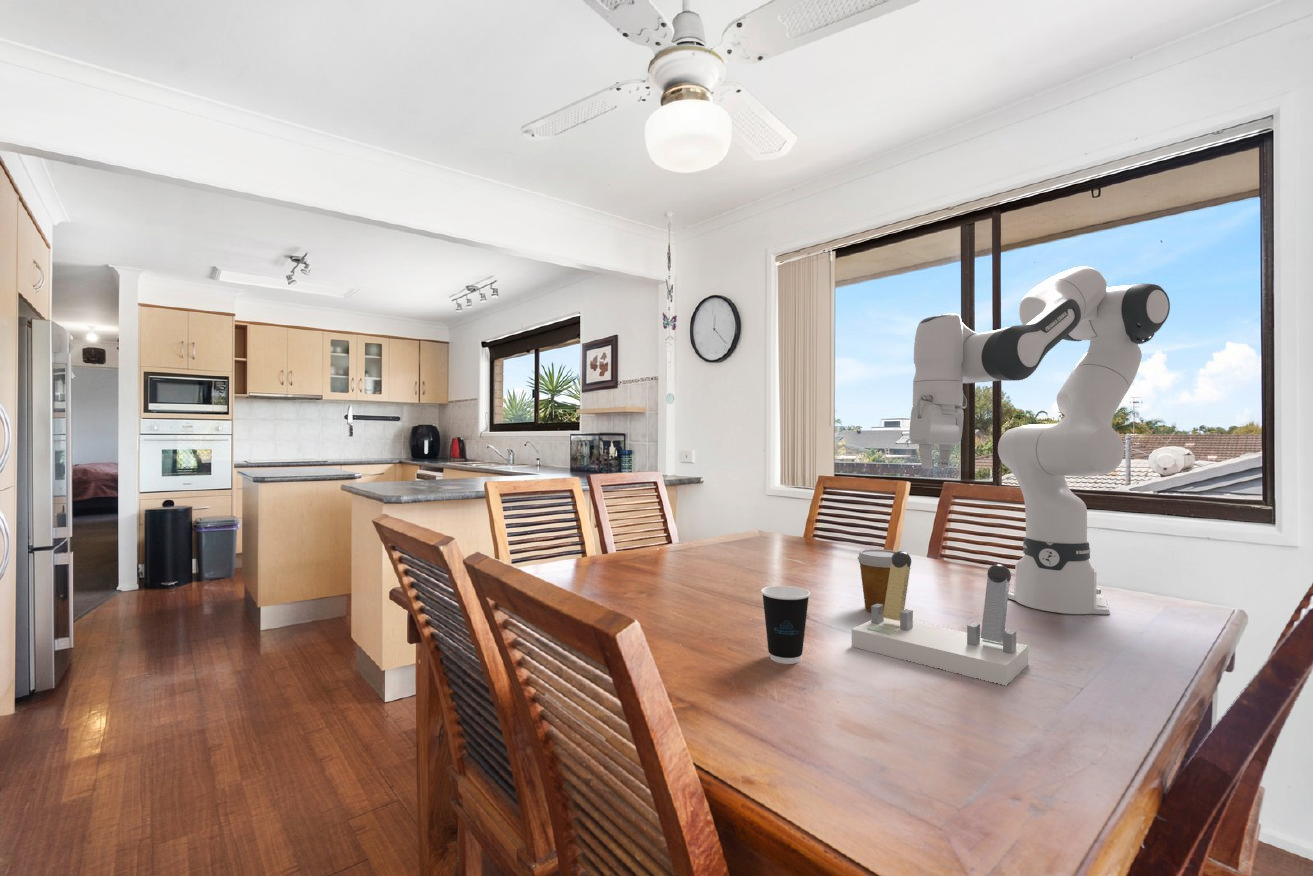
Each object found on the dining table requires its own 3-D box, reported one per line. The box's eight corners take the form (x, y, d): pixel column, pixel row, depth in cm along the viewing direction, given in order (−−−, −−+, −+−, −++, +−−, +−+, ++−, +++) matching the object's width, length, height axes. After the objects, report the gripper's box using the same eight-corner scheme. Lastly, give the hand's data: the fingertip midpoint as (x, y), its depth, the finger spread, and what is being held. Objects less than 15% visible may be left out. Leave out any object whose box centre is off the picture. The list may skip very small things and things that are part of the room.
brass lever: (887, 619, 111) (897, 552, 114) (905, 623, 109) (915, 554, 112) (879, 616, 109) (889, 548, 112) (898, 620, 107) (908, 550, 110)
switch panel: (881, 631, 115) (882, 598, 115) (1028, 664, 99) (1028, 626, 99) (851, 646, 107) (851, 611, 107) (1006, 686, 90) (1006, 644, 90)
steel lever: (983, 639, 100) (991, 565, 103) (1006, 644, 98) (1014, 568, 101) (977, 637, 98) (985, 560, 101) (1000, 642, 96) (1009, 563, 99)
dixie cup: (779, 670, 96) (780, 599, 96) (751, 654, 103) (751, 588, 103) (820, 663, 99) (820, 594, 99) (790, 647, 106) (790, 583, 106)
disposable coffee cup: (913, 617, 124) (913, 557, 124) (865, 617, 124) (865, 557, 124) (895, 604, 133) (895, 548, 133) (851, 604, 134) (851, 548, 134)
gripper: (936, 392, 111) (935, 470, 111) (969, 400, 126) (967, 468, 126) (901, 394, 115) (899, 468, 115) (937, 400, 131) (935, 466, 130)
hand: (935, 468), depth 121 cm, fingers open, 8 cm apart
